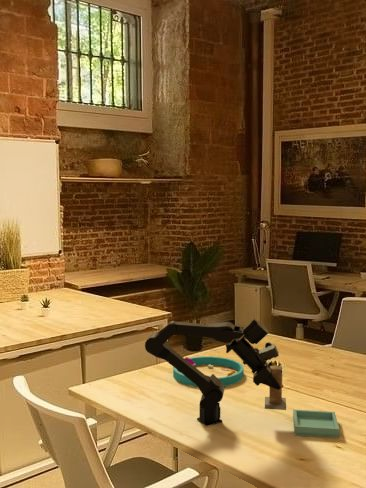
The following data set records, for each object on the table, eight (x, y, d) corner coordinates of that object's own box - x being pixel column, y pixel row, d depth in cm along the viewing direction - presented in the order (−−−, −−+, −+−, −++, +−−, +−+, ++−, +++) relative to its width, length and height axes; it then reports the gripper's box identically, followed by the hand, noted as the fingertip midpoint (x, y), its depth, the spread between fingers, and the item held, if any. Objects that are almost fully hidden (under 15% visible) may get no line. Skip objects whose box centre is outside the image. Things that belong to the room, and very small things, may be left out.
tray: (294, 435, 184) (294, 426, 184) (293, 417, 198) (293, 409, 198) (339, 438, 182) (339, 429, 182) (334, 420, 196) (334, 411, 196)
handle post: (264, 408, 189) (265, 370, 187) (264, 400, 195) (265, 364, 194) (286, 410, 187) (286, 371, 186) (285, 402, 194) (286, 365, 193)
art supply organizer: (191, 361, 263) (191, 348, 262) (253, 370, 250) (253, 357, 249) (160, 381, 236) (160, 367, 236) (228, 392, 223) (228, 378, 223)
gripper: (264, 344, 180) (298, 380, 180) (264, 330, 199) (296, 362, 198) (238, 367, 182) (273, 403, 182) (242, 350, 201) (273, 382, 200)
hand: (279, 386), depth 191 cm, fingers closed on handle post, 4 cm apart
